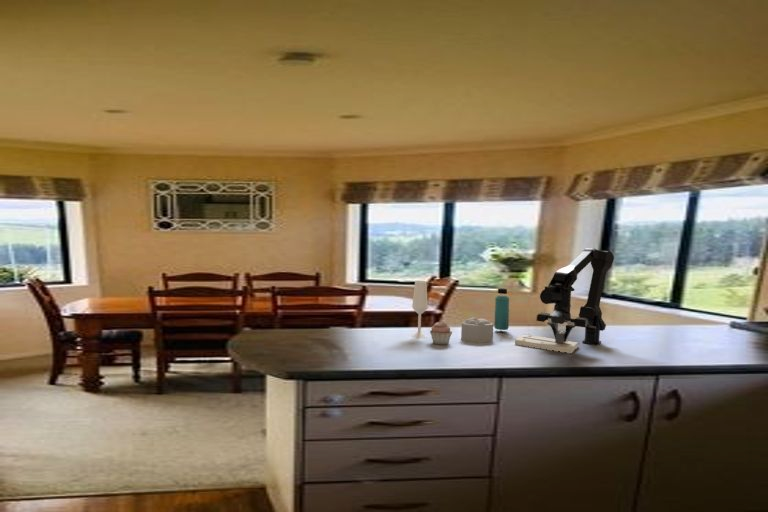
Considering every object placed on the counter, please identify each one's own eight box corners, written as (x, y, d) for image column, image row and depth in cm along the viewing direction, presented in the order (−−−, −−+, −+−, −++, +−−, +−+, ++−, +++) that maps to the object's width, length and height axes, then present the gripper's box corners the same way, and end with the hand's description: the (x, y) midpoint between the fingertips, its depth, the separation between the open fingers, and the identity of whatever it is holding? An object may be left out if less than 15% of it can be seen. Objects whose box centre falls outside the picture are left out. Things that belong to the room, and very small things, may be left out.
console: (524, 338, 204) (524, 334, 204) (577, 347, 192) (578, 342, 192) (515, 344, 194) (515, 339, 194) (571, 353, 182) (571, 348, 182)
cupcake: (427, 340, 198) (428, 316, 197) (449, 340, 198) (450, 317, 198) (431, 346, 188) (432, 321, 188) (454, 346, 189) (455, 321, 188)
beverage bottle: (508, 333, 213) (510, 289, 212) (493, 332, 215) (495, 289, 213) (508, 330, 220) (509, 288, 218) (493, 329, 221) (495, 287, 220)
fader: (558, 340, 193) (558, 330, 192) (566, 341, 191) (566, 331, 191) (555, 342, 188) (555, 332, 188) (563, 343, 187) (563, 333, 186)
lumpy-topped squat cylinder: (495, 341, 199) (496, 321, 198) (467, 343, 195) (468, 322, 194) (483, 335, 209) (484, 316, 208) (456, 337, 205) (457, 317, 204)
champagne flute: (427, 338, 201) (429, 282, 200) (411, 337, 201) (413, 282, 200) (426, 334, 208) (427, 280, 206) (411, 334, 208) (412, 280, 206)
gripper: (533, 302, 187) (531, 340, 188) (583, 307, 177) (580, 348, 178) (541, 298, 196) (539, 335, 197) (589, 304, 186) (587, 343, 187)
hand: (560, 340), depth 190 cm, fingers closed on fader, 3 cm apart
